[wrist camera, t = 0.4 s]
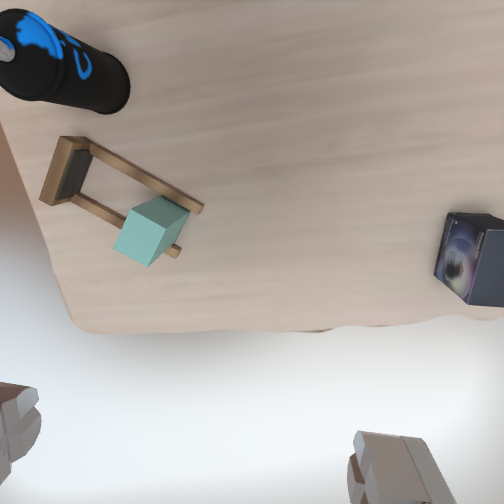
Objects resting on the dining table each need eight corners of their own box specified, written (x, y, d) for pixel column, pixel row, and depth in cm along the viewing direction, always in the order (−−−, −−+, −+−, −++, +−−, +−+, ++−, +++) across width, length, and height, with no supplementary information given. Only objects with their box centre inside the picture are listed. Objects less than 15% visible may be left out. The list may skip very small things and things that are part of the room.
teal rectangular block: (190, 210, 53) (166, 229, 41) (174, 241, 54) (147, 267, 43) (162, 195, 52) (130, 209, 41) (148, 226, 54) (113, 248, 43)
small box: (444, 211, 50) (486, 227, 40) (489, 213, 49) (543, 230, 39) (430, 276, 53) (466, 306, 43) (472, 278, 52) (518, 309, 43)
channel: (204, 204, 52) (195, 212, 46) (177, 255, 55) (166, 268, 50) (84, 136, 50) (59, 135, 45) (64, 193, 53) (38, 199, 48)
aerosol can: (106, 126, 50) (0, 115, 31) (65, 82, 48) (-74, 41, 29) (142, 86, 47) (51, 46, 29) (99, 38, 46) (-26, -37, 27)
